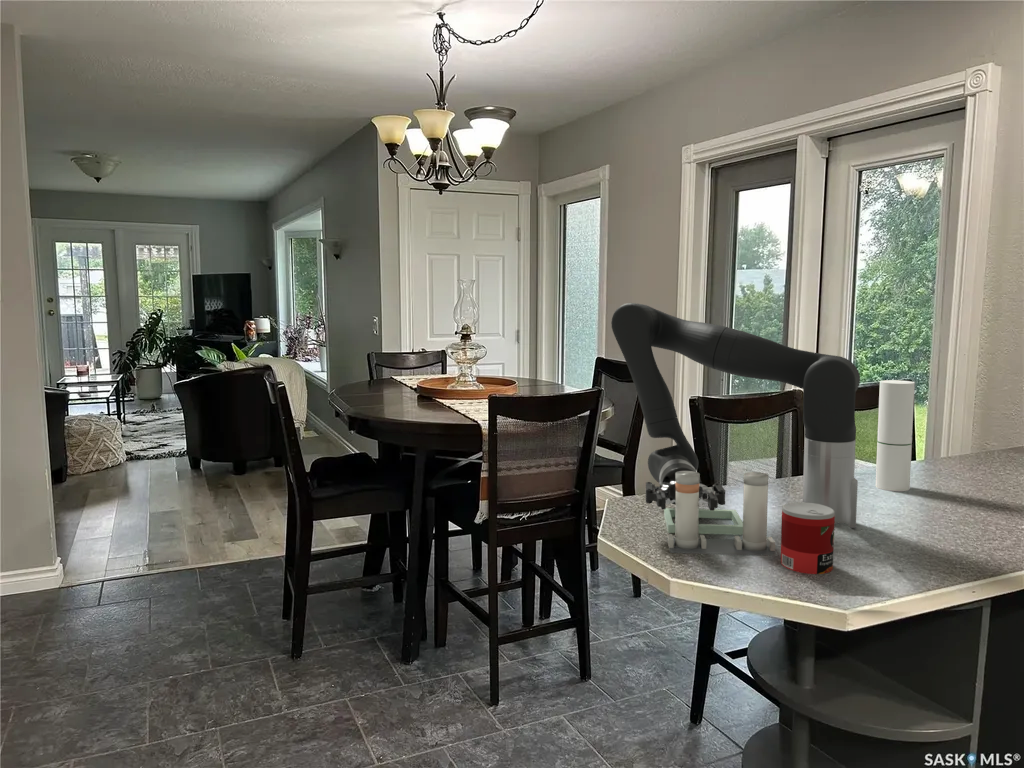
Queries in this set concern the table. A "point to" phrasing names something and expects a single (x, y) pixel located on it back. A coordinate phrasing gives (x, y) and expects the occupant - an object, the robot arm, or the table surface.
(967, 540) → the table surface
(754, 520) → the plain fuse
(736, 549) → the clip block
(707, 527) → the tray
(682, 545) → the cylinder
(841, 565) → the table surface
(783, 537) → the canned food
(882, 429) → the cylindrical container
